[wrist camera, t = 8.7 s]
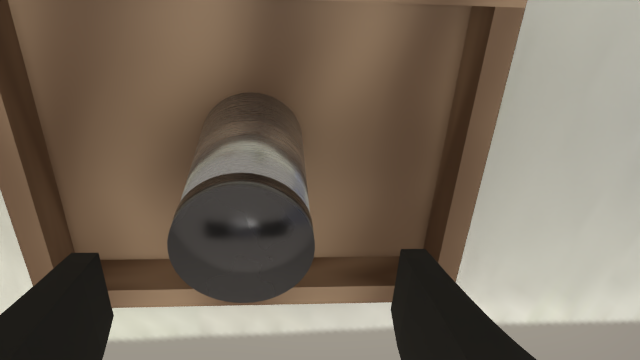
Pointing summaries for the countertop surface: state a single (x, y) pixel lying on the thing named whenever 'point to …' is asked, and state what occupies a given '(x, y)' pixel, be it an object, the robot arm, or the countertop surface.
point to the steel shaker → (245, 204)
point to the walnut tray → (245, 77)
